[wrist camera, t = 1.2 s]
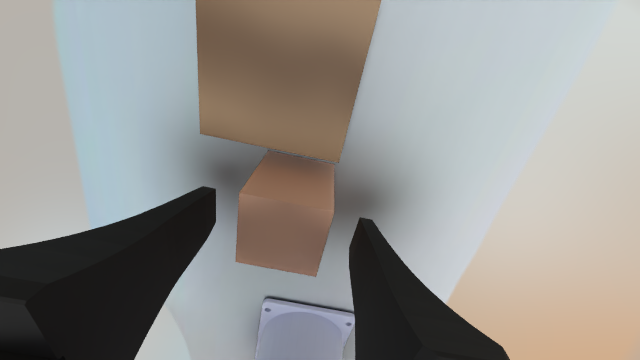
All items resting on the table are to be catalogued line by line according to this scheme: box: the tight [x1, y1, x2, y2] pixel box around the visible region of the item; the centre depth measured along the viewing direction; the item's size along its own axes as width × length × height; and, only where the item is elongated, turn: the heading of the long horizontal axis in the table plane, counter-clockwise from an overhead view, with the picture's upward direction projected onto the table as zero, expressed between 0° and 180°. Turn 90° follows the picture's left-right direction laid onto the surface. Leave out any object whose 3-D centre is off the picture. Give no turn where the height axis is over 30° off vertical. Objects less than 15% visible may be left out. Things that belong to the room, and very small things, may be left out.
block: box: [236, 150, 334, 277], centre depth 13 cm, size 4×4×5 cm
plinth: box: [196, 0, 381, 163], centre depth 11 cm, size 7×7×2 cm
